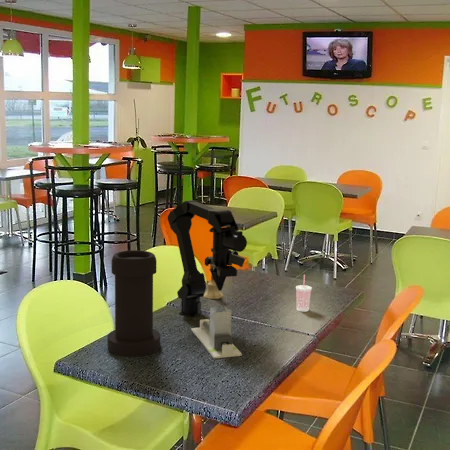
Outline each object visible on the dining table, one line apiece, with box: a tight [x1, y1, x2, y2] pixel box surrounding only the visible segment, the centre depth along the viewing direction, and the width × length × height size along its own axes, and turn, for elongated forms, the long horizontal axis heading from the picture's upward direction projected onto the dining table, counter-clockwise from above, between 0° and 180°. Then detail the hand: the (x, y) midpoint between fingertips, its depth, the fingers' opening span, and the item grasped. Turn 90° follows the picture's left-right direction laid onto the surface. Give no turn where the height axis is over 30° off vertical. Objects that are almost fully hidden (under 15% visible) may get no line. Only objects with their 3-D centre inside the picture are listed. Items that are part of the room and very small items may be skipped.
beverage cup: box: [295, 274, 313, 312], centre depth 235 cm, size 6×6×14 cm
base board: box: [190, 318, 243, 359], centre depth 199 cm, size 26×9×3 cm, turn 19°
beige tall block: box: [209, 306, 232, 348], centre depth 194 cm, size 5×5×12 cm
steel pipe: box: [203, 322, 227, 347], centre depth 199 cm, size 23×2×2 cm, turn 19°
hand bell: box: [203, 264, 224, 300], centre depth 249 cm, size 8×8×16 cm
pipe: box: [107, 249, 161, 357], centre depth 191 cm, size 16×16×30 cm
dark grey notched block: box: [215, 335, 233, 351], centre depth 191 cm, size 2×5×4 cm, turn 109°
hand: (219, 290), depth 213 cm, fingers closed
